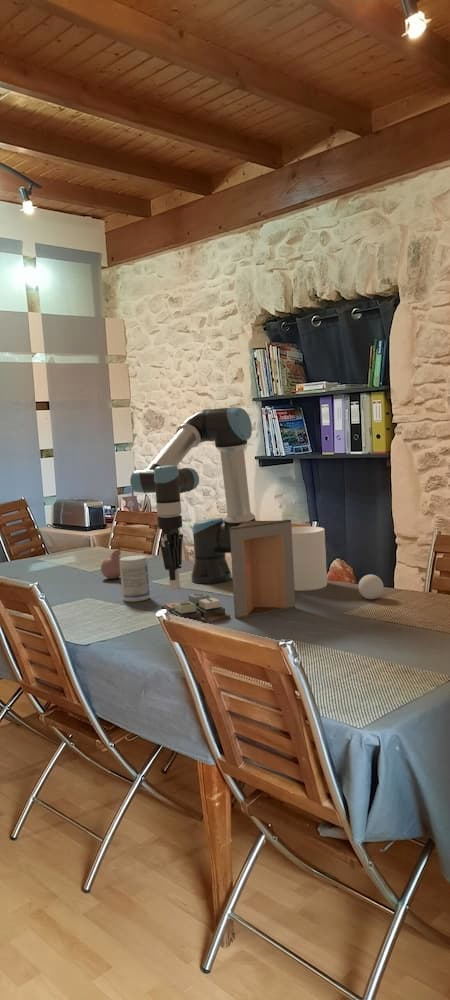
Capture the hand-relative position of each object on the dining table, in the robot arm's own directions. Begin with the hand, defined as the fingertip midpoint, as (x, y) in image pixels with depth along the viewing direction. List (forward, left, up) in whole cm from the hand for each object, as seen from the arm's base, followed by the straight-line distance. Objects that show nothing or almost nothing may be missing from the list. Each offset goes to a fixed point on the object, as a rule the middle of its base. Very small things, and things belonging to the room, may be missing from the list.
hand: (175, 589), depth 238 cm
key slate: (-8, 0, -5) cm, 9 cm away
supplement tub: (+4, -29, -8) cm, 31 cm away
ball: (-60, +20, -8) cm, 63 cm away
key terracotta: (0, 0, -7) cm, 7 cm away
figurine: (0, -70, -8) cm, 71 cm away
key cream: (-8, +9, -5) cm, 13 cm away
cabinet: (-24, +11, -8) cm, 27 cm away
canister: (-53, -11, -8) cm, 54 cm away
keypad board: (-4, +5, -8) cm, 10 cm away
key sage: (0, +9, -5) cm, 11 cm away
